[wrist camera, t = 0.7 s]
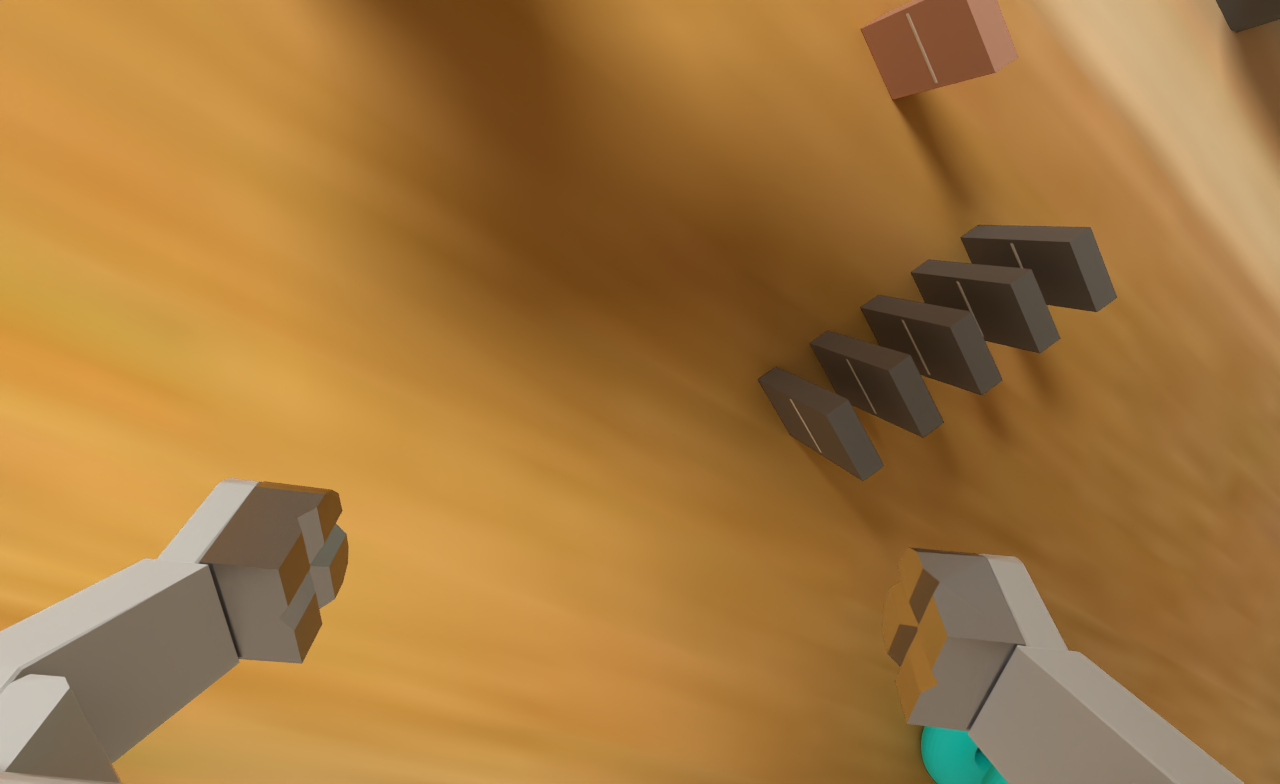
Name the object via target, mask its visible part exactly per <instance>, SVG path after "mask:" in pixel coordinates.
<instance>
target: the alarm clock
mask: <svg viewBox="0 0 1280 784" xmlns="http://www.w3.org/2000/svg"><path fill="white" fill-rule="evenodd" d="M1216 2H1217V4H1218V6H1219V8H1220V9H1221V11H1222V13H1223V15H1224V17H1225V19H1226V21H1227V23H1228V25H1229V27H1230V29H1231V30H1233V31H1235V32H1239V31H1242V30H1246V29H1249V28H1252V27H1255V26H1259V25H1262V24H1265V23H1268V22H1272V21H1275V20H1278V19H1280V0H1216Z"/></svg>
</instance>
